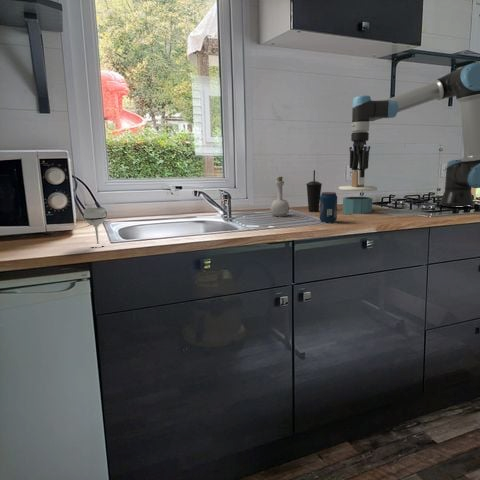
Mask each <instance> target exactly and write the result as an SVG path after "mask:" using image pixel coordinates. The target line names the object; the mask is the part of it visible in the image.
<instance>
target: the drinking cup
mask: <svg viewBox="0 0 480 480" xmlns="http://www.w3.org/2000/svg"><path fill="white" fill-rule="evenodd" d="M305 185H306V191H307V193H306V194H307V209H308V212H309V213H320V196H321V194H322V186H323V183H321V182H319V181H318V180H317V181H316V170H313V180H312V181H309V182H307V183H306V184H305Z"/></svg>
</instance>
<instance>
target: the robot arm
mask: <svg viewBox="0 0 480 480" xmlns="http://www.w3.org/2000/svg"><path fill="white" fill-rule="evenodd" d="M451 97H452V98H453V97H455V98H456V99H455V100H456V101H457V102H459V103H460V113H461V129H462V141H463V143H462V145H463V157H462V158H461V159H460V158H459V159H453V160H449V161H448V162H447V164H446V168H445V169H446V171H445V184H444V193H443V194H442V196H441V200H440V201H439V205H440V204H441V205H445V206H464V205H472V204H474V205H475V201H474V198H473V194H472V188H473V189H480V62H473V63H469V64H466V65H464V66H462V67H461V68H457V69H454V70H453V71H450V72H449V73H447V74H446V75H444V76H442V77H439V78H436V79H434V80H433V81H432V83H429V84H426V85H424V86H421V87H418V88H415V89H412V90H409V91H406V92H403V93H401V94H398V95H395V96H393V97H392V96H391V97H389V98H386V99H385V100H384V99H383V100H372V99H371V95H366V94H365V95H356V96H355V97H354V98H352V100H353V101H352V107H351V108H352V109H351V110H352V113H351V117H352V119H351V132H352V133H351V138H350V141H351V142H352V143H353V144H352V146H350V147H349V168H350V169H351V170H352V172H358V185H364V186H365V175H364V174H365V171H366V169H369V159H370V149H371V146H370V145H369V146H368V145H367V142H368V141H369V139H370V138H369V137H370V136H369V134H370V133H369V131H370V122H375V121H378V120H383V119H391V118H392V119H393V118H395V117H397V116H398V115H397V114H398V113H400V112H402V111H405V110H409V109H411V108H415V107H417V106H420V105H422V104H425V103H429V102H431V101H434V100H437V101H441V100H443V99H444V100H445V99H448V98H451Z"/></svg>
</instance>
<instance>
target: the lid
mask: <svg viewBox="0 0 480 480" xmlns="http://www.w3.org/2000/svg"><path fill="white" fill-rule="evenodd" d="M364 176H365V174H364ZM377 189H378V187H377V186H373V185H365V184H364V185H358V172H353V171H352V172H351V185H342V186H338V191H342V192H373V191H378V190H377Z"/></svg>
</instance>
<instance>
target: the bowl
mask: <svg viewBox="0 0 480 480" xmlns="http://www.w3.org/2000/svg"><path fill="white" fill-rule="evenodd" d="M372 212H373V197H369V196H345V197H343V198H342V214H344V215H352V216H353V214H354V215H364V214H365V215H366V214H371V213H372Z"/></svg>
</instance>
